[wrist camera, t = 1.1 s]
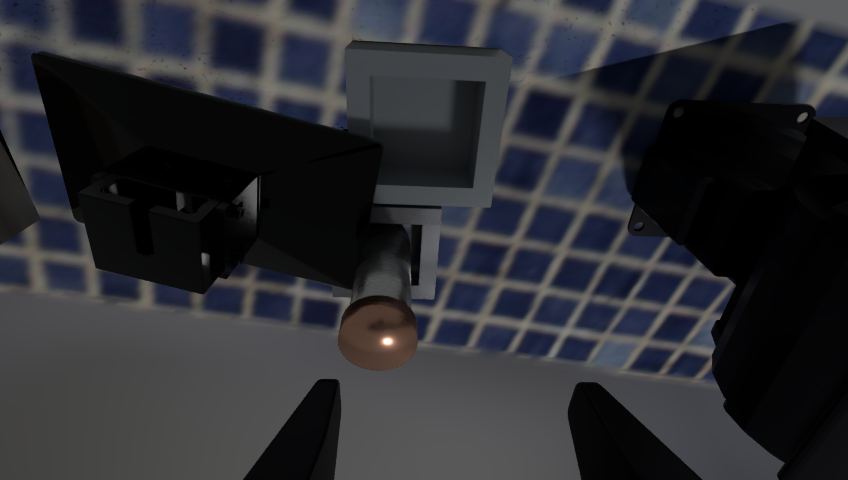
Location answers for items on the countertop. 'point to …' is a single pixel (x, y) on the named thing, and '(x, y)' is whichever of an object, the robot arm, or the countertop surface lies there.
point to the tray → (430, 118)
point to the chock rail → (13, 197)
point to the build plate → (204, 180)
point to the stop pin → (381, 303)
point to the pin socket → (428, 243)
